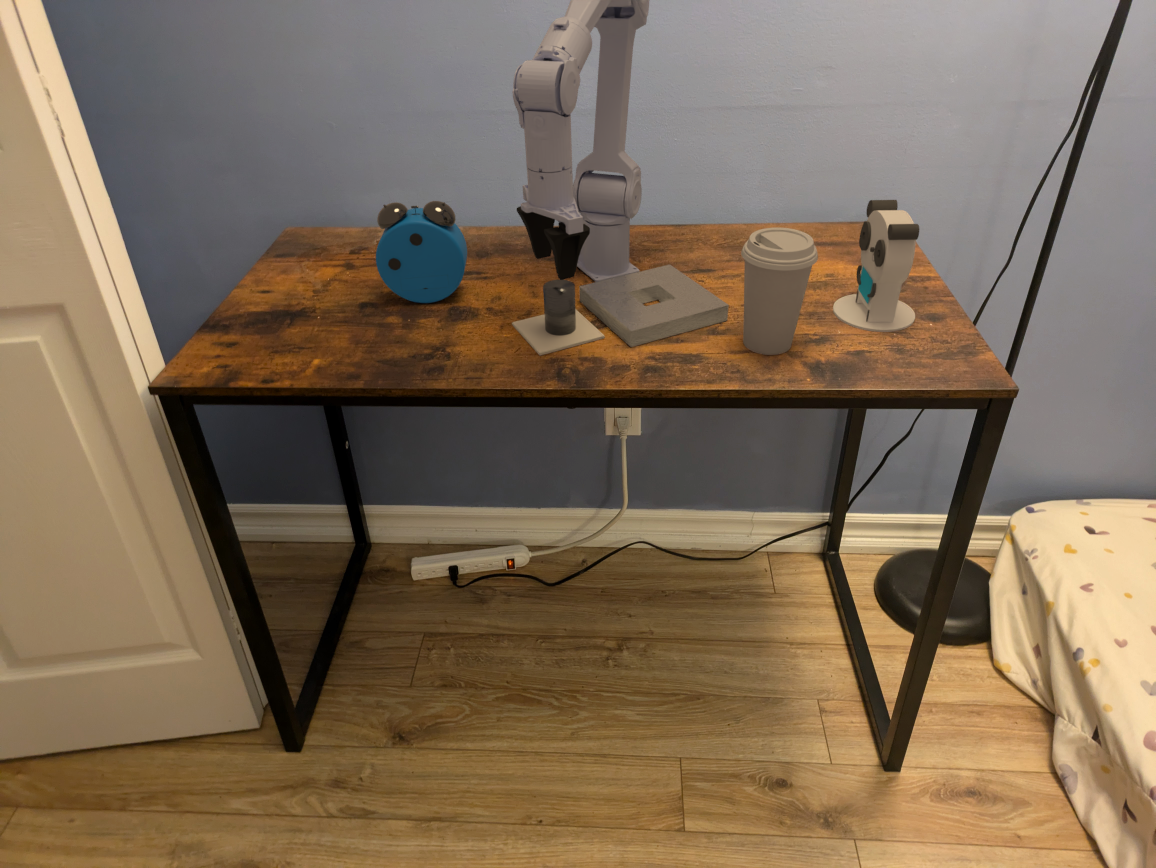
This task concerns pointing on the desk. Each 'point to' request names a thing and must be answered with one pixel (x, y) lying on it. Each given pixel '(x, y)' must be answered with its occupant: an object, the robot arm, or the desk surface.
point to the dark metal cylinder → (559, 307)
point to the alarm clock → (420, 251)
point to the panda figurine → (881, 271)
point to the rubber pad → (550, 343)
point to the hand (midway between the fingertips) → (554, 267)
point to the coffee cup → (775, 287)
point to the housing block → (642, 324)
